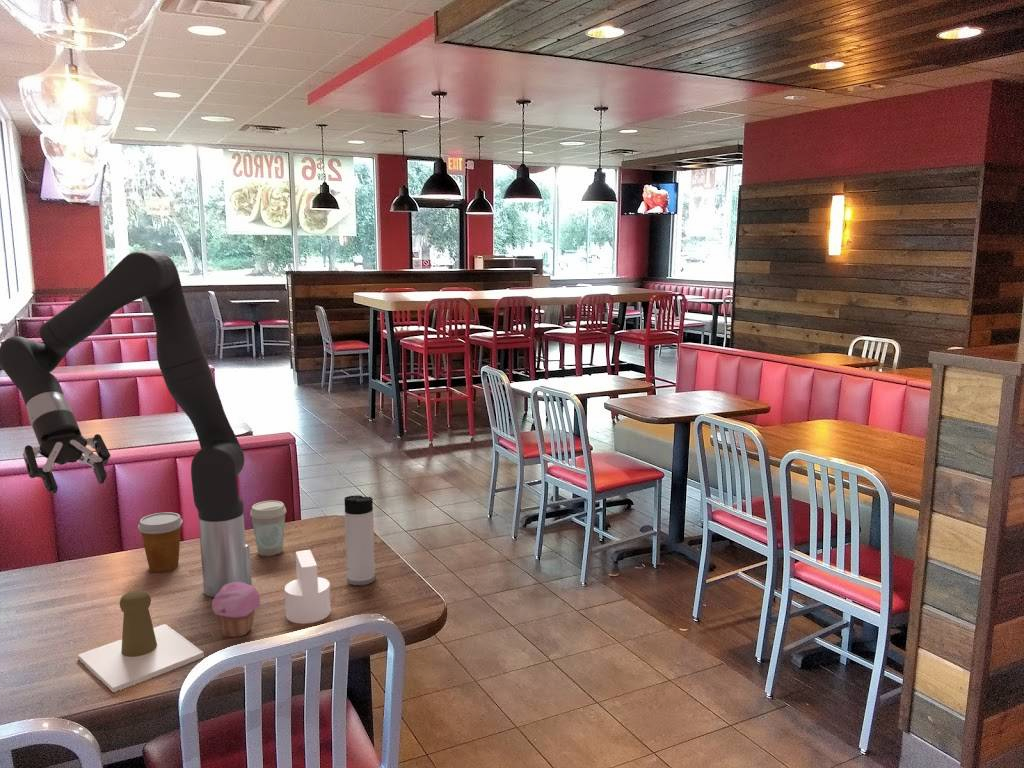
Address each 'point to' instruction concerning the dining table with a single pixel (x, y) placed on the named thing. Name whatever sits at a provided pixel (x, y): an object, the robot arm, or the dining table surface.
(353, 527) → the travel mug
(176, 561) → the disposable coffee cup
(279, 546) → the coffee cup
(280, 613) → the dining table surface
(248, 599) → the cupcake
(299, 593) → the cylinder with rectangular tab
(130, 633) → the cork
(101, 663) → the white mat
